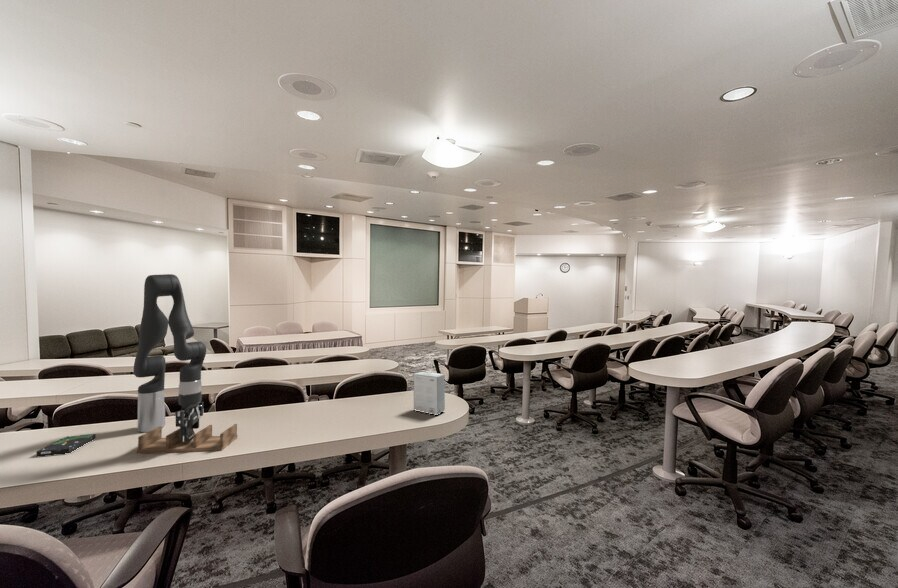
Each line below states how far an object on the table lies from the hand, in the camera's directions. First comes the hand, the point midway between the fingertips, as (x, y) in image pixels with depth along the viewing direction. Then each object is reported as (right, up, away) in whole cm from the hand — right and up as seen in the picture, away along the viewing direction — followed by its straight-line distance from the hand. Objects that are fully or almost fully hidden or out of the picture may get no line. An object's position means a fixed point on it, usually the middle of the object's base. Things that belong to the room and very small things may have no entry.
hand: (189, 431), depth 142 cm
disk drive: (-48, -6, -2) cm, 48 cm away
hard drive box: (+95, -6, +42) cm, 104 cm away
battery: (0, -3, 0) cm, 3 cm away
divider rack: (0, -6, 0) cm, 6 cm away
